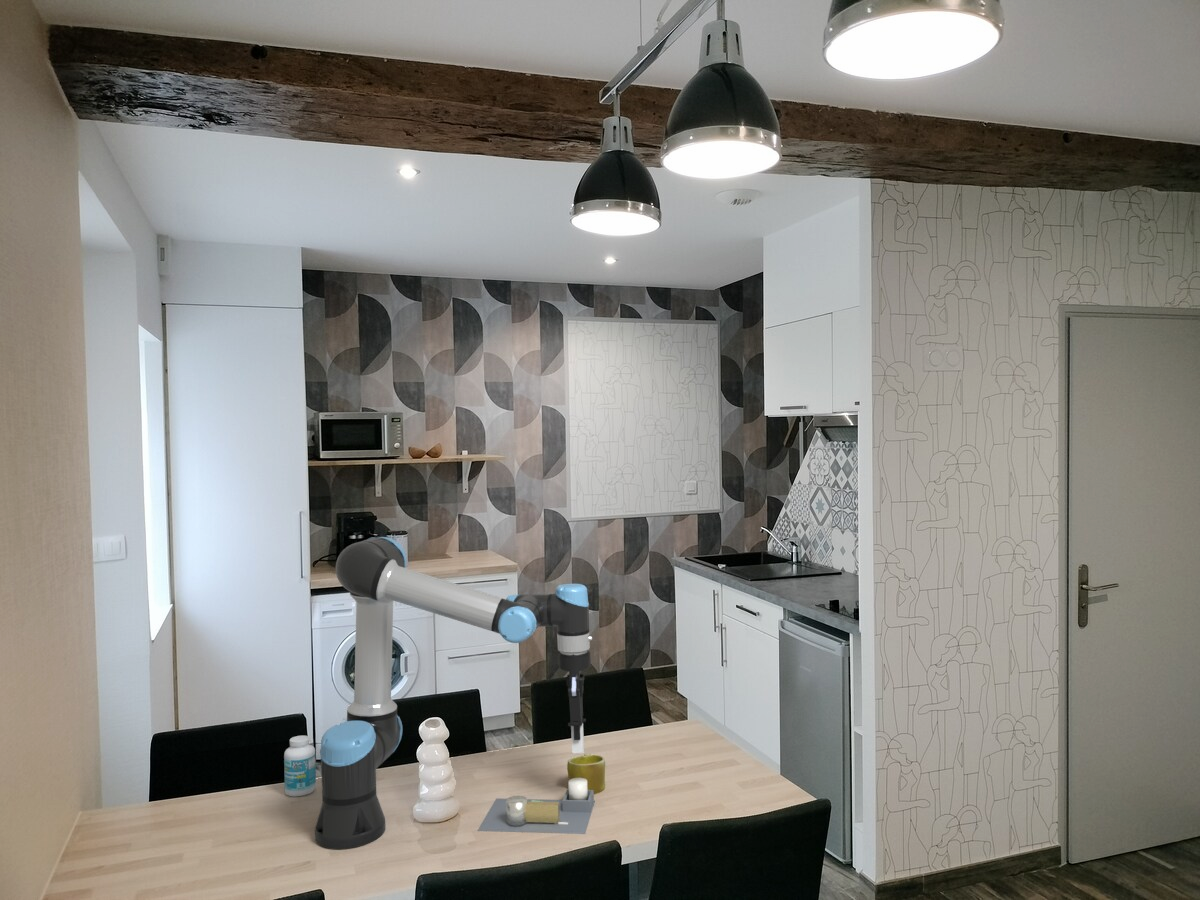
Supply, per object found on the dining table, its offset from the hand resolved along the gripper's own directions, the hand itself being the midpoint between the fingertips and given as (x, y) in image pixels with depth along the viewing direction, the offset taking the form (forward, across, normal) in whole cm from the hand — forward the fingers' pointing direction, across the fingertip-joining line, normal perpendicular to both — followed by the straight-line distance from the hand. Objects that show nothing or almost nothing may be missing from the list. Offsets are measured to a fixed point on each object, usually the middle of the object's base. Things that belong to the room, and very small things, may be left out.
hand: (578, 751), depth 195 cm
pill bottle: (+13, +14, +72) cm, 74 cm away
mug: (+14, +13, -1) cm, 19 cm away
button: (+11, 0, 0) cm, 11 cm away
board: (+14, -4, +9) cm, 17 cm away
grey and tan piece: (+12, -9, +10) cm, 18 cm away
